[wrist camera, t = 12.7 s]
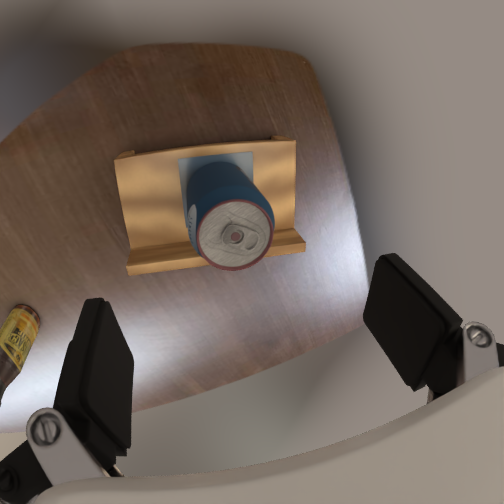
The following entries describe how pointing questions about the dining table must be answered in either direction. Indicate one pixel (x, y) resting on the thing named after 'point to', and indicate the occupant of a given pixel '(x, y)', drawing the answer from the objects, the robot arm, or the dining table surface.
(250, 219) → the soda can
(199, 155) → the wooden block with lip
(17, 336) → the sauce bottle
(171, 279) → the dining table surface
